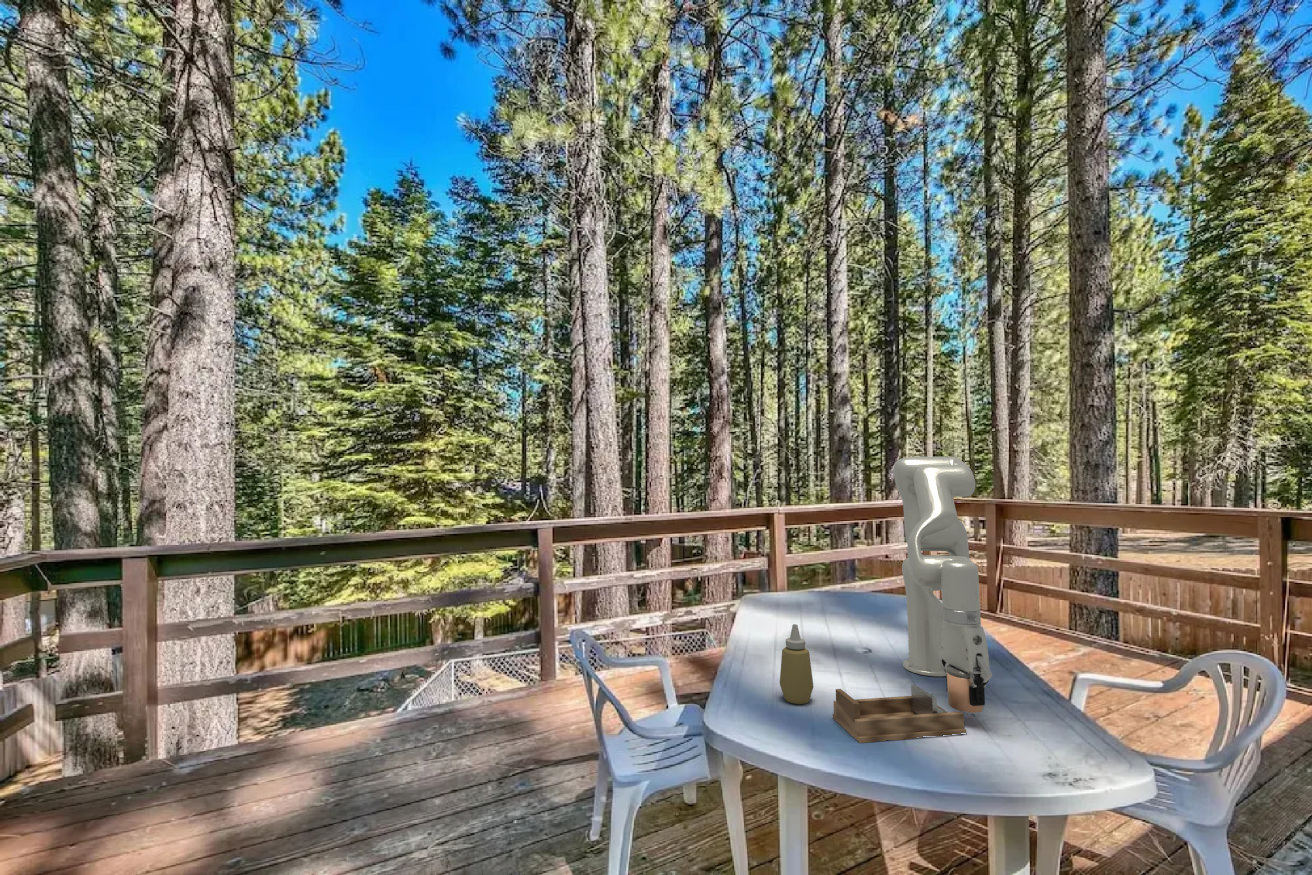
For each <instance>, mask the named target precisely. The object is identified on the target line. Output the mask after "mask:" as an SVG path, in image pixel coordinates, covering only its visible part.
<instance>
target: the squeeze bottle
mask: <svg viewBox="0 0 1312 875" xmlns="http://www.w3.org/2000/svg"><path fill="white" fill-rule="evenodd" d="M810 654H811V653H810V650H809V649H808V648H806V641H805V639H804V638H802V637H801V635H800V630H799V626H798V624H796V623H795V624H792V626H791V632H790V636H789V637H787V638H785V647H784V648H783V649H782V650H781V660H780V673H779V675H780V676H779V685H780V689H781V692H782V695H783V697H784V700H785V701H786V702H788V703H789V704H793V705H804V704H808V703H809V702H810V700H811V696H812V693H813V689H814V680H813V671H812V665H811V656H810Z"/></svg>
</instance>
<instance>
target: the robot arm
mask: <svg viewBox="0 0 1312 875" xmlns="http://www.w3.org/2000/svg"><path fill="white" fill-rule="evenodd" d="M893 477H894V478H893V479H894V483H895V485H896V489H897V491H898V493H899V495H900V498H901V502H902V507H903V523H904V534H905V542H906V544H907V550H906V551H907V558H905V559H904V560H903V562H902V565H901V572H902V577H903V578H902V579H903V583H904V588H905V597H906V598H905V599H906V610H907V611H906V614H907V637H908V638H907V639H908V640H907V641H908V642H907V643H908V658H907V659H905V660H903V662H902V663H903V664H902V665H903V668H904V669H905V670H906V671H909V672H911V673H914V674H918V675H922V676H927V677H928V676H929V677H945V680H946V684H945V685H946V692H947V693H948V688H947V666H948V665H952V666H954V667H956V668H958V669H960V670H962V671H964V672H967V674H968V677H969V680H970V683H971V686H969V698H970V705H972V706H982V705H983V706H985V704H986V700H985V698H986V697H985V696H986V695H985V688H986V687H987V684H988V683H989V681H990V679H991V678H992V677H993V673H992V671H991V669H990V659H989V658H990V657H989V651H988V642H987V637H986V632H985V629H984V627H983V626H982V622H981V601H980V600H981V598H980V583H979V582H980V581H979V578H980V577H979V568H978V565H977V564H976V563H974V562H973V561H972V560H971V559H970V550H969V539H968V533H967V530H966V526H965V525H964V524H963V522H962V521H961V520H960V519H958V513H957V510H956V504H955V500H954V498H955V497H958V498H959V497H962V498H963V497H971V496H972V495H973V493H974V492H975V489H976V479H975V475H974V473H973V471H972V469H971V467H970V466H969V465H968V464H967V463H966V462H964V461H962V460H961V459H960V458H958V457H957V456H908V457H902V458H900V459H898V460H896V461H895V463H894V465H893ZM922 551H923V552H924V551H925V552H946V553H947V554H948V555H942V554H941V555H937V554H935V555H934V554H931V555H930V554H922ZM936 591H941V600H940V599H939V598H938V597H937V596H936V595H935V593H934V592H936ZM973 669H976V671H973ZM974 674H978V678H977V679H976V680H975V678H974Z"/></svg>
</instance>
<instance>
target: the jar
mask: <svg viewBox="0 0 1312 875" xmlns="http://www.w3.org/2000/svg"><path fill="white" fill-rule="evenodd" d="M973 671H976V669H973ZM974 678H975V680H976V679H977V678H978V674H974ZM969 686H971V683H970V680H969V677H968V674H967V672H964V671H962V670H960V669H958V668H956V667H954V666H952V665H948V666H947V686H946V689H947V688H948V692H947V704H948V706H949V707H951V708H952V709H954V710H956V711H959V712H964V713H965V712H966V713H973V714H974V713H975V714H976V713H981V712H983V711H984V705H982V706H972V705H970V698H969Z"/></svg>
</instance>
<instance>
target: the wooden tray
mask: <svg viewBox="0 0 1312 875" xmlns="http://www.w3.org/2000/svg"><path fill="white" fill-rule="evenodd" d="M930 694H931V693H930ZM931 695H933V694H931ZM933 696H934V697H936V696H935V695H933ZM937 707H938V708H940V709H941V710H943V711H945V712H946V713H933V714H919V715H918V714H916V713H915V712H913V711H912V696H911V695H900V696H890V697H874V698H873V697H872V698H857V699H854V698H853V697H851V695H849V694H848V693H847V692H845V691H844V690H843V689H842V688H836V689H835V700H833V713H832V719H833V720H834V721H835V722H836V723H838V725H840V726H841V727H842V728H843V729H844V730H845V731H846V732H847V733H848V734H849V735H850V736H852V737H853V738H854V739H855V740H856V741H857V742H858V743H859V744H865V743H876V741H877V742H878V741H880V742H887V741H886V740H893V741H902V740H904V739H905V740H913V739H912V738H917V737H923V736H943V735H952V734H961V733H966V734H967V729H966V728H965V715H964V713H963V712H962V711H951V712H948V711H947V710H945V709H944V708H942V707H940V706H939V705H937ZM878 743H879V742H878Z"/></svg>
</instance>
